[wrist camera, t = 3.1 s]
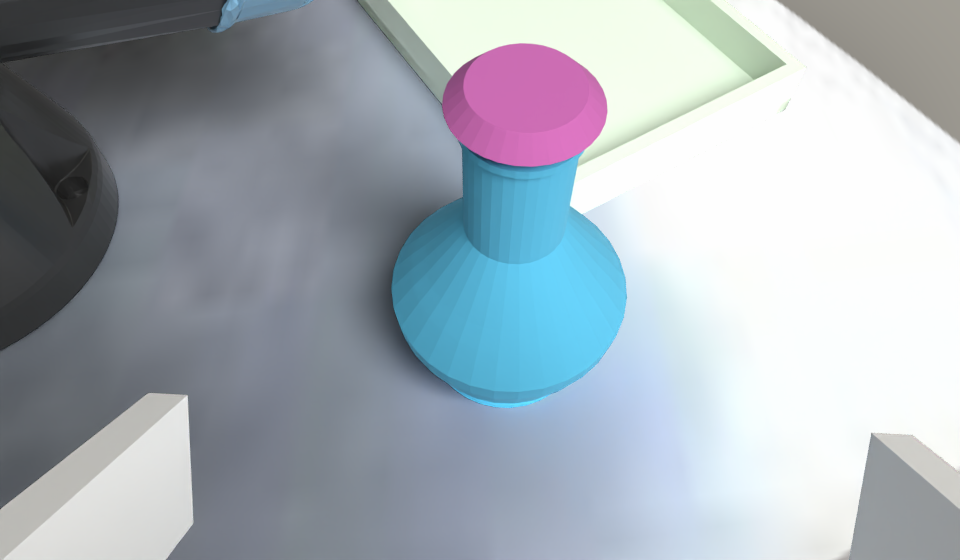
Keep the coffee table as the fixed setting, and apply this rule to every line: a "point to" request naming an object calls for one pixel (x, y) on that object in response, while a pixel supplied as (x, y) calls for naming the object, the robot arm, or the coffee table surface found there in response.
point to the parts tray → (616, 71)
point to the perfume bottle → (513, 237)
